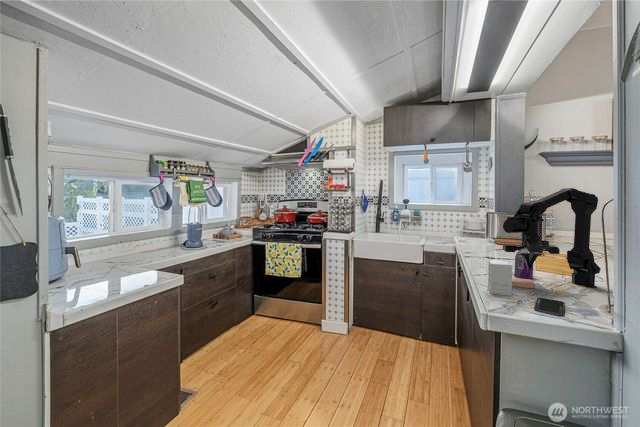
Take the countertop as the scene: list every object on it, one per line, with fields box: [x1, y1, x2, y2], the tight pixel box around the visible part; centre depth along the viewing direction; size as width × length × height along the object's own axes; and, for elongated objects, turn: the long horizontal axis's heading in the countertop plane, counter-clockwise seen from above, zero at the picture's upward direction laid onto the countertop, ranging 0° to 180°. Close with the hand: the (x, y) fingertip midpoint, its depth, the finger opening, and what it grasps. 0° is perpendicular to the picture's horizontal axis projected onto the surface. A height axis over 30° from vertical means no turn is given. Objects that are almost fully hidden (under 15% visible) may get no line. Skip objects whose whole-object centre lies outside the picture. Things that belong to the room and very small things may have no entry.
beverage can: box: [513, 251, 534, 280], centre depth 134 cm, size 7×7×12 cm
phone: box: [533, 297, 566, 317], centre depth 98 cm, size 8×1×15 cm
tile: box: [512, 277, 536, 288], centre depth 121 cm, size 2×6×10 cm
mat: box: [512, 282, 551, 293], centre depth 120 cm, size 14×12×1 cm
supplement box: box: [487, 259, 513, 297], centre depth 113 cm, size 7×7×13 cm
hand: (529, 268), depth 120 cm, fingers closed
